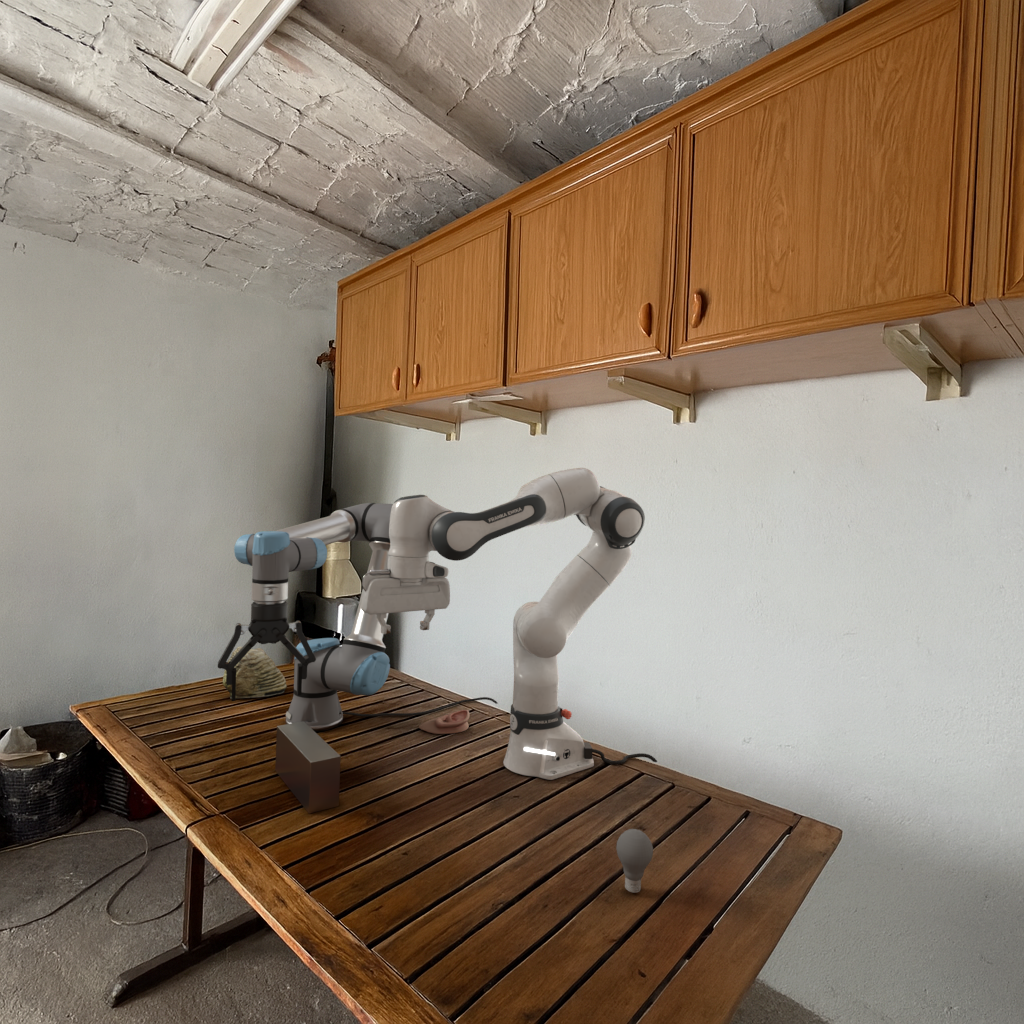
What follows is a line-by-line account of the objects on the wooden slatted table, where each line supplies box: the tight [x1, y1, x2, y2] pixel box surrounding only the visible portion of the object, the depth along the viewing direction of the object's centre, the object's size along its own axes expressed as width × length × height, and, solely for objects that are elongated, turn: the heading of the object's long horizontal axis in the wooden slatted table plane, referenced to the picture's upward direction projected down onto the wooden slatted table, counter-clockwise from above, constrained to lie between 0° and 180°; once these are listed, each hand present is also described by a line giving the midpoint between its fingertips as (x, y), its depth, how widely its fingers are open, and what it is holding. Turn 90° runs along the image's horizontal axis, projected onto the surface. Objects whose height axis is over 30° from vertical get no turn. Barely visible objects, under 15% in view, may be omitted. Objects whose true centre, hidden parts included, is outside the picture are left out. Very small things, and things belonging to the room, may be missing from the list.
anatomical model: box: [418, 709, 471, 735], centre depth 177 cm, size 13×4×12 cm
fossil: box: [222, 646, 288, 699], centre depth 198 cm, size 9×18×15 cm, turn 132°
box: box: [274, 721, 341, 815], centre depth 138 cm, size 23×6×10 cm, turn 36°
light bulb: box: [615, 828, 654, 894], centre depth 106 cm, size 6×6×10 cm
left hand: (266, 696), depth 141 cm, fingers open, 13 cm apart
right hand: (405, 631), depth 139 cm, fingers open, 8 cm apart
